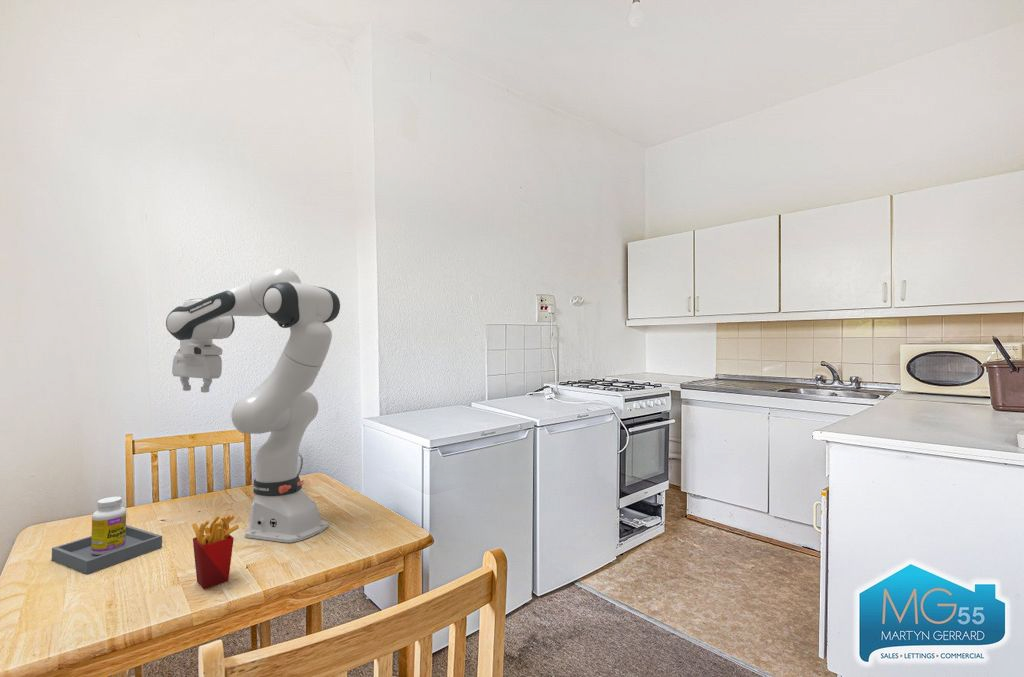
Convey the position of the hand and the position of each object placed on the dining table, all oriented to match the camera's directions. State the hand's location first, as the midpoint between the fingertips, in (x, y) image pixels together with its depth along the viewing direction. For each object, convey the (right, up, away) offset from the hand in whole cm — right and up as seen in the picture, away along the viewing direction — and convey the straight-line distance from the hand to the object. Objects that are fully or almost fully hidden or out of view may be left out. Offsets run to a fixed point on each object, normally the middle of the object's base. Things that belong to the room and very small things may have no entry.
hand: (195, 391), depth 156 cm
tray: (+1, -37, -35) cm, 51 cm away
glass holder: (+22, -38, +17) cm, 47 cm away
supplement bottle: (+1, -37, -35) cm, 50 cm away
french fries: (+37, -38, -48) cm, 71 cm away
